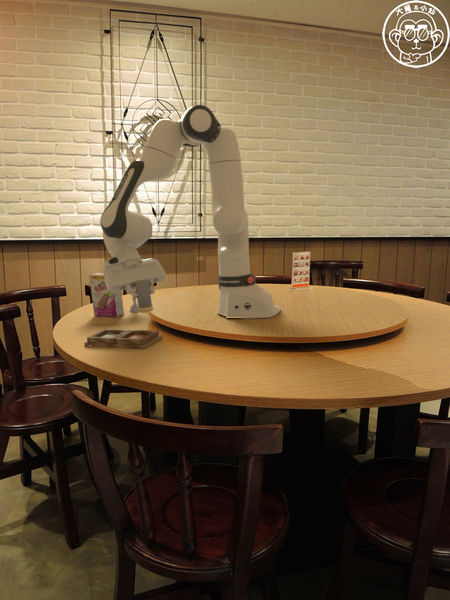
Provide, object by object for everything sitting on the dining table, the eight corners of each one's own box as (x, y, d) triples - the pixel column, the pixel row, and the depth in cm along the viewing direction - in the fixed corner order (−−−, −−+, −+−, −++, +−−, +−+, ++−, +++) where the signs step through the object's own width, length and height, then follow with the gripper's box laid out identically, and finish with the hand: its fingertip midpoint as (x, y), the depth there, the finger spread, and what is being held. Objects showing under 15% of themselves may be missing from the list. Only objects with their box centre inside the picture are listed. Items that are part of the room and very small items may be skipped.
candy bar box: (93, 316, 179) (87, 275, 176) (102, 313, 184) (96, 272, 180) (116, 317, 174) (111, 275, 171) (124, 314, 179) (119, 272, 175)
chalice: (134, 313, 179) (129, 267, 175) (123, 312, 183) (117, 267, 179) (148, 309, 184) (143, 264, 181) (136, 308, 189) (131, 264, 185)
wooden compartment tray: (162, 337, 144) (161, 330, 143) (144, 349, 134) (143, 340, 133) (105, 335, 151) (104, 328, 151) (84, 345, 141) (83, 338, 141)
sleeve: (155, 308, 153) (151, 279, 150) (148, 312, 149) (143, 282, 146) (143, 308, 155) (139, 279, 152) (136, 312, 151) (131, 282, 148)
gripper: (154, 263, 163) (170, 293, 158) (98, 274, 153) (113, 307, 147) (158, 251, 158) (174, 282, 153) (100, 262, 148) (116, 295, 142)
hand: (144, 294), depth 150 cm, fingers closed on sleeve, 4 cm apart
